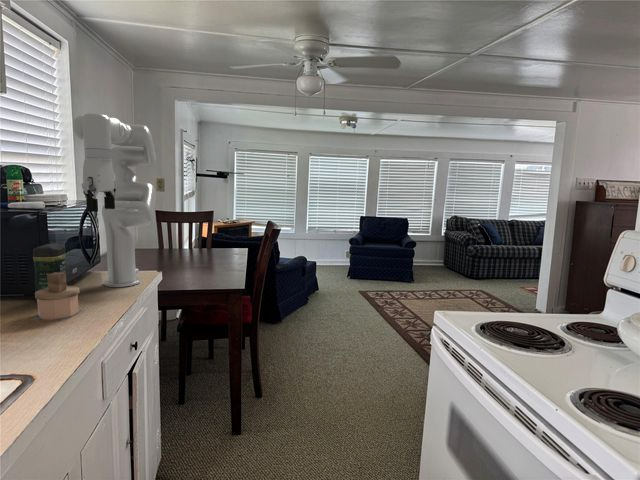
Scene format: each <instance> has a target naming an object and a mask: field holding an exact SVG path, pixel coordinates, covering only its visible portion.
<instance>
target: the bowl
mask: <svg viewBox="0 0 640 480" xmlns="http://www.w3.org/2000/svg"><path fill="white" fill-rule="evenodd" d="M36 302H37V316H39V318H40V319H42V320H59V319H65V318H69V317H72V316H74V315H76V314H77V313H78V312H79V294H78V295H76V296H73V297H70V298H65V299H59V300H38V299H37V301H36ZM77 315H78V314H77ZM77 315H76V316H77ZM74 317H75V316H74ZM72 318H73V317H72Z"/></svg>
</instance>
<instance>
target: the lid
mask: <svg viewBox="0 0 640 480" xmlns="http://www.w3.org/2000/svg"><path fill="white" fill-rule="evenodd" d="M47 280H48V288H44V289H41V290H38V291H36V292H34V297H35V300H36V299H38V300H59V299H65V298H70V297H73V296H76V295H78V296H79V294H80V287H78V286H75V285H67V286H66V280H67V272H66V273H56V272H55V273H52V274H49V275H47Z"/></svg>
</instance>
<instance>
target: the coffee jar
mask: <svg viewBox="0 0 640 480" xmlns="http://www.w3.org/2000/svg"><path fill="white" fill-rule="evenodd" d="M50 243H51V244H48V243H47V244H42V245H40V246H36V247H35V248H33V249H32V260H33V265H34V279H35V280H34V282H35V284H34V285H35V290H34V291H35V292H36V291H38V290H41V289H44V288H48V280H47V275H49V274H52V273H55V272H56V273H66V274H67V271H66V269H67V268H66V247H65V246H64V245H63V244H62V243H59V242H58V243H53V242H50ZM66 286H68V282H67V279H66ZM35 292H34V293H35ZM35 301H36V302H37V299H36V298H35Z"/></svg>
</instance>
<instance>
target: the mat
mask: <svg viewBox="0 0 640 480" xmlns="http://www.w3.org/2000/svg"><path fill="white" fill-rule="evenodd" d="M84 311H86V309H79V312H78V313H77V314H76V315H74V316H72V317H69V318H65V319H59V320H42V319H40V318H39V315H37V316H35V317H33V318H31V319H29V321H43V322H44V321H49V322H66V321H68V320H69V319H71V318H73V317H75V316H77V315H79V314H81V313H83V312H84Z"/></svg>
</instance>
